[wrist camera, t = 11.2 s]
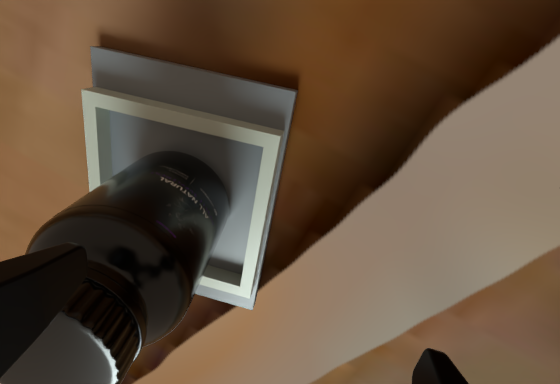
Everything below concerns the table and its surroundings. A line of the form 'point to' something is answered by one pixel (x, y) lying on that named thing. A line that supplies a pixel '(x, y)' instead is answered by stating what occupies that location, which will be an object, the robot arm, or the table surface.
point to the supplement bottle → (127, 268)
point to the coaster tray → (196, 146)
